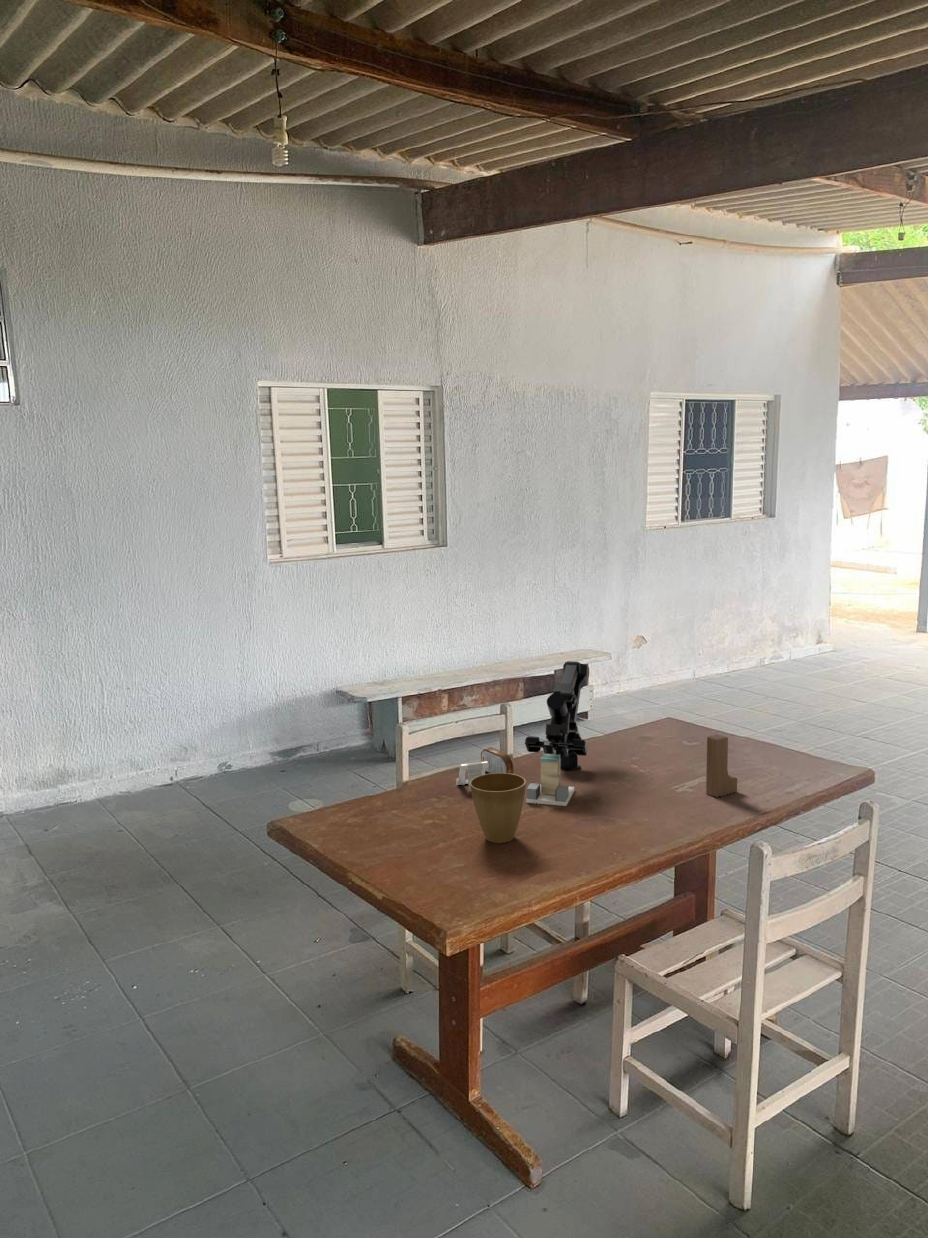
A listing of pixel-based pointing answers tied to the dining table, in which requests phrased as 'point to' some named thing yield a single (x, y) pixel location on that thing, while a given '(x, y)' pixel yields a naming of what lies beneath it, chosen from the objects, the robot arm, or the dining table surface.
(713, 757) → the wooden block
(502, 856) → the dining table surface
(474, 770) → the portable electronic device stand
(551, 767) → the peg
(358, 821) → the dining table surface
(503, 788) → the plant pot
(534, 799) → the block holder base
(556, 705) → the robot arm
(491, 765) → the tin
